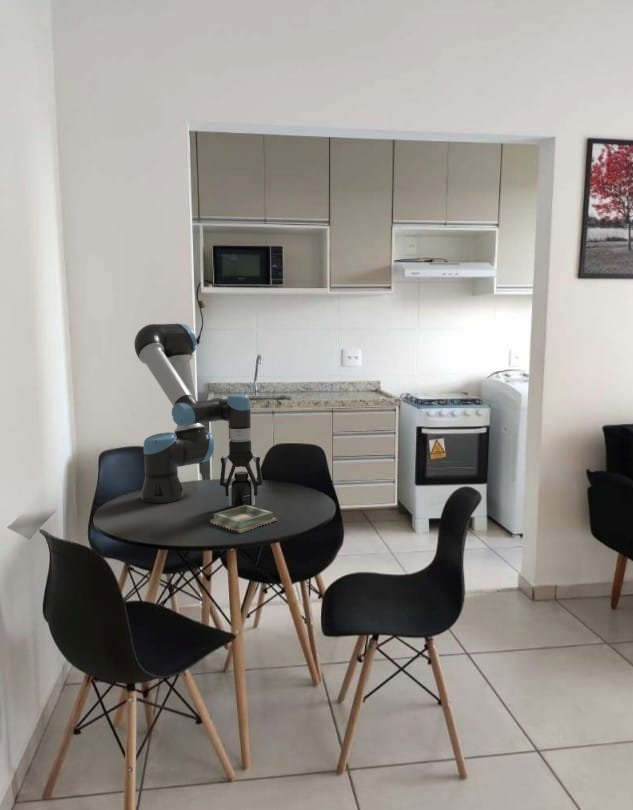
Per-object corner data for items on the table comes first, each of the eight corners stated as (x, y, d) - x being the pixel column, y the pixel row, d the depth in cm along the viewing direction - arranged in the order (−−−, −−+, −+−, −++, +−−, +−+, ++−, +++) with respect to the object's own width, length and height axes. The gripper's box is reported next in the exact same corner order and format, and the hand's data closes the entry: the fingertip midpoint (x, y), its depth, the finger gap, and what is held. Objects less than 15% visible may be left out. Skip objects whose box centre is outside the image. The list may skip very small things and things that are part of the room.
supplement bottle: (248, 509, 211) (247, 475, 209) (229, 509, 212) (228, 474, 211) (254, 504, 218) (253, 470, 216) (235, 503, 219) (234, 470, 217)
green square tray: (210, 522, 197) (209, 513, 197) (246, 512, 208) (246, 503, 208) (240, 533, 187) (240, 523, 187) (276, 521, 198) (276, 512, 197)
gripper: (209, 442, 208) (211, 508, 211) (268, 441, 209) (270, 507, 211) (212, 438, 215) (214, 502, 218) (269, 437, 216) (271, 501, 219)
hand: (242, 504), depth 215 cm, fingers open, 7 cm apart
